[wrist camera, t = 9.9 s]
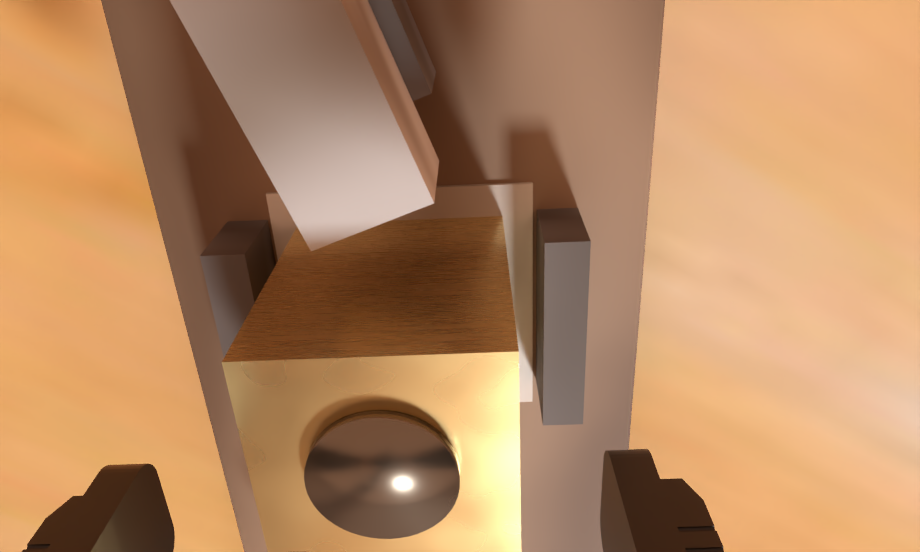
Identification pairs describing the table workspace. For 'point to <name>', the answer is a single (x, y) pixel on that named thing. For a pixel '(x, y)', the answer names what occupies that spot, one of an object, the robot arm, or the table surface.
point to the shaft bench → (476, 131)
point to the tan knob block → (384, 392)
